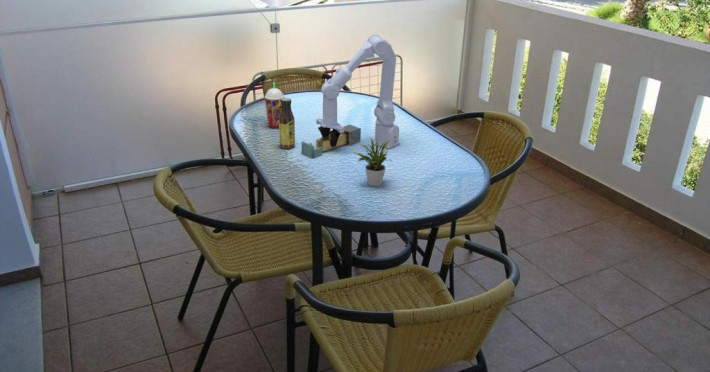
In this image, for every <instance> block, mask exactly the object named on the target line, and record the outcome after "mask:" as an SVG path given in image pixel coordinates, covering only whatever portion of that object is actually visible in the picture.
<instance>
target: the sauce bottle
mask: <svg viewBox="0 0 710 372" xmlns="http://www.w3.org/2000/svg"><path fill="white" fill-rule="evenodd" d="M281 103H282V111H281V113H280V115H279V128H278V132H279V133H278V134H279V135H278V137H279V147H280V148H281V149H286V150H289V149H293V148H295V144H296V130H295V129H296V128H295V126H296V124H295V123H296V122H295V119H296V118H295V116H294V114H293V111H292V99H291V98H289V97H284V98H283V99H281Z"/></svg>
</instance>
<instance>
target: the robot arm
mask: <svg viewBox="0 0 710 372" xmlns="http://www.w3.org/2000/svg"><path fill="white" fill-rule="evenodd" d="M362 43H363V44H362V45H361V46H360V48H359V49H358V50H357V52H356V53H355V54H354V56H353V57H352V58H351V59H350V60H349V61H348V63H347V64H346V65H345V66H340V67H339V68H336V70H335V72H334V74H333V76H332V77H331V78H329V79H328V80H327V81H326V82H324V83H323V84H322V86H321V88H320V91H321V93H322V118H320V117H319V118H317V119H315V123H316V125H319V126H318V128H317V129H318V131H319V132H320V135H321V138H322V137H325V136H328V135H330V138H331V146H332V147H334V148H336V147H335V146H336V145H337V141H338V138H339V136H340V134H341V133H343V132H344V126H342V125H341V124H340V123H338V97H339V95H340V91H341V90H342V89H343V88H344V87H345V86H346V84H347V83H348V82H349V81H351V78H352V76H353V72H354V71H355V70H356V69H357V68H359V67H360V65H361V64H363V63H364V61H365V60H366V59H371V58H372V59H373V58H375V57H376V56H375V55H377V56H378V57H379V58H380V59H381V60H382V65H381V76H380V88H379V90H380V91H379V98H378V100H377V102H376V106H375V108H374V109H373V112H374V113H373V115H374V116H375V117H376V119H375V127H374V128H375V129H374V131H375V132H374V140H373V142H374V146H376V144H375V142H376V143H377V142H378V147H380V146H381V145H382V144H383V143H384V144H385V142H387V141H388V140H391V139H392V140H391V141H389V143H388V144H389V145H388V144H387V145H388V147H387V145H386V147H387V150H389V149H392V148H395V146H398V145H399V144H400V139H399V138H400V128H399V126H398V125H396V124H395V121H396V115H395V107H394V103H393V99H394V98H393V97H394V87H395V75H396V66H397V65H396V64H397V56H396V53H395V52H394V49H393V48H392V44H391V43H389V42H388V41H387V40H386V39H384V38H382V37H381V36H380V35H379V34H372V35H370V36H369V37H368V38H367V40H365V41H364V42H362ZM384 144H383V145H384ZM383 145H382V147H383ZM382 147H381V148H382ZM386 147H385V148H386ZM385 148H384V149H385Z"/></svg>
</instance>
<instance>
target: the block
mask: <svg viewBox="0 0 710 372" xmlns="http://www.w3.org/2000/svg"><path fill="white" fill-rule="evenodd" d="M348 135H349V133H347V132H345V131H344V132H343V133H341V134H340V136H339V138H338V141H337V145H336V146H335V147H332V146H331V138H330V134H329V135H328V136H325V137H322V136H321V137H319V138H317V139H315V145H316V146H315V149H317V148H320V147H322V152H325V151H328V150H332V149H334V148H336V147H340V146H343V145H347V144H346V143H348Z"/></svg>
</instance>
